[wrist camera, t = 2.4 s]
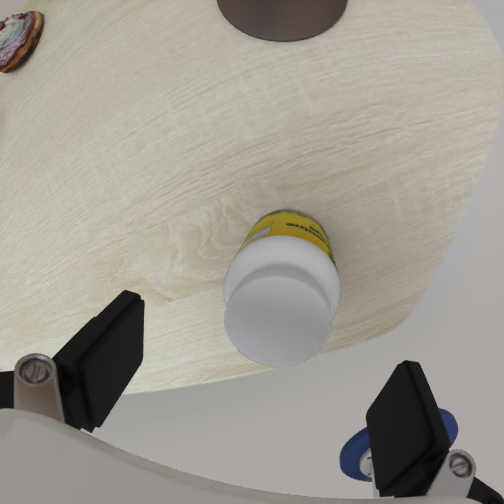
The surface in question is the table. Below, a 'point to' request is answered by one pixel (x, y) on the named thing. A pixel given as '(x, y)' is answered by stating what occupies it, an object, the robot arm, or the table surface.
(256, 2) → the coaster
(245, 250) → the pill bottle
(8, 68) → the pastry
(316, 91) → the table surface
